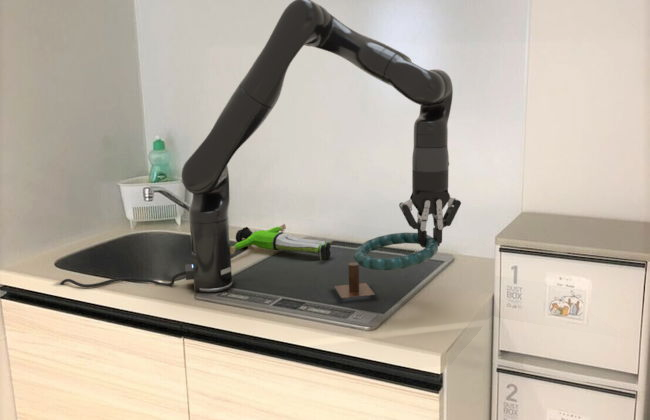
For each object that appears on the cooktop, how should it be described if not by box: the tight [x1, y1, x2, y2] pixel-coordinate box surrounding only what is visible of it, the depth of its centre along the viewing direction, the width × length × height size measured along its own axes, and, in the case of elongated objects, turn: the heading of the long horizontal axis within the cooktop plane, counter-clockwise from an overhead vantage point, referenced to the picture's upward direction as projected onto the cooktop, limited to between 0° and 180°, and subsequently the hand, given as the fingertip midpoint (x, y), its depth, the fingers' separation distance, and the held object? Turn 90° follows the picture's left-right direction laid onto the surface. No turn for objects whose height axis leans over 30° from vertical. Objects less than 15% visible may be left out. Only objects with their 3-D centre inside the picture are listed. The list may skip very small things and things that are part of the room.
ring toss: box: [333, 261, 376, 299], centre depth 160 cm, size 8×8×8 cm
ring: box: [353, 232, 439, 271], centre depth 147 cm, size 18×18×2 cm
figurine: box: [230, 223, 332, 262], centre depth 193 cm, size 28×6×30 cm
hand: (429, 245), depth 148 cm, fingers closed on ring, 2 cm apart
